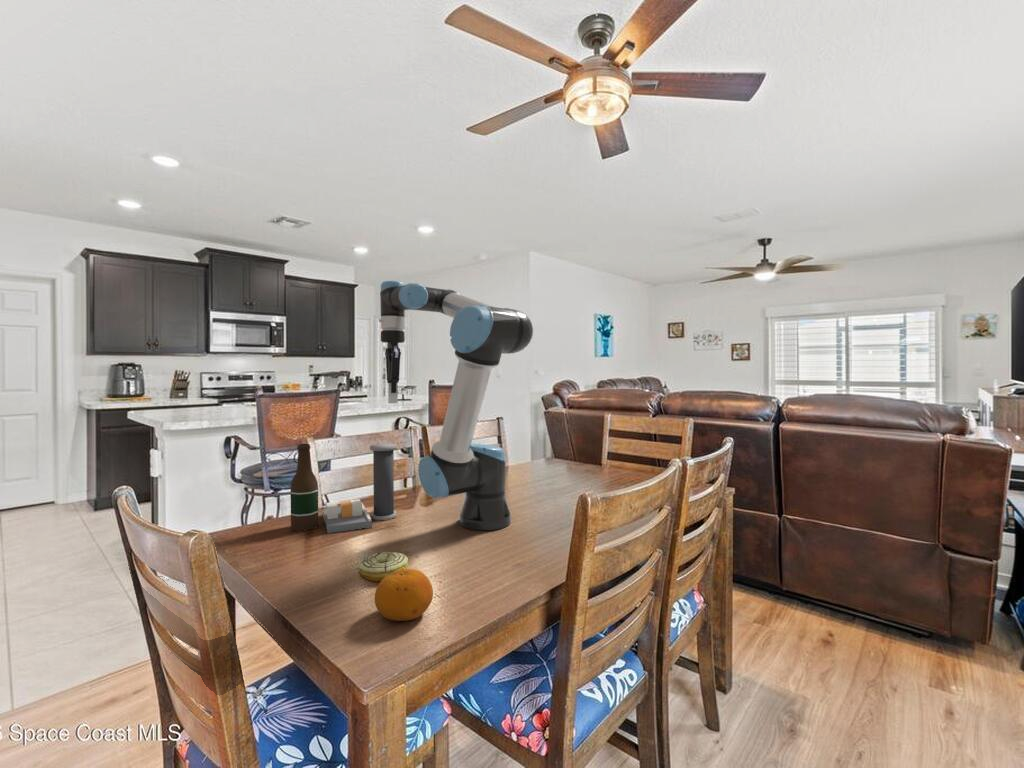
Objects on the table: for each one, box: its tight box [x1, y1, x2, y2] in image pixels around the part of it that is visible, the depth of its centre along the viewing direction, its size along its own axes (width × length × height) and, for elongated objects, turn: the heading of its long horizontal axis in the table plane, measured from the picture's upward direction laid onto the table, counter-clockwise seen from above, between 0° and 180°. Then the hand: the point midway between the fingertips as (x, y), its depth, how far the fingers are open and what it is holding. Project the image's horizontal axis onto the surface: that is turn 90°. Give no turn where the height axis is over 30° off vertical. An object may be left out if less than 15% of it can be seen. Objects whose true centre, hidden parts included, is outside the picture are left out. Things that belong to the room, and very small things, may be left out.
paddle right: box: [350, 498, 363, 516], centre depth 145 cm, size 5×3×4 cm, turn 25°
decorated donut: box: [357, 551, 409, 582], centre depth 109 cm, size 10×11×4 cm
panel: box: [322, 502, 373, 534], centre depth 144 cm, size 18×12×3 cm, turn 25°
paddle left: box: [325, 501, 339, 519], centre depth 142 cm, size 5×3×4 cm, turn 25°
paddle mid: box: [339, 499, 352, 518], centre depth 144 cm, size 5×3×4 cm, turn 25°
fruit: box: [374, 568, 434, 622], centre depth 90 cm, size 10×10×8 cm
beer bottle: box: [290, 443, 319, 532], centre depth 138 cm, size 8×8×24 cm
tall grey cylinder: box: [369, 443, 398, 522], centre depth 149 cm, size 8×8×22 cm
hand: (392, 403), depth 157 cm, fingers closed
